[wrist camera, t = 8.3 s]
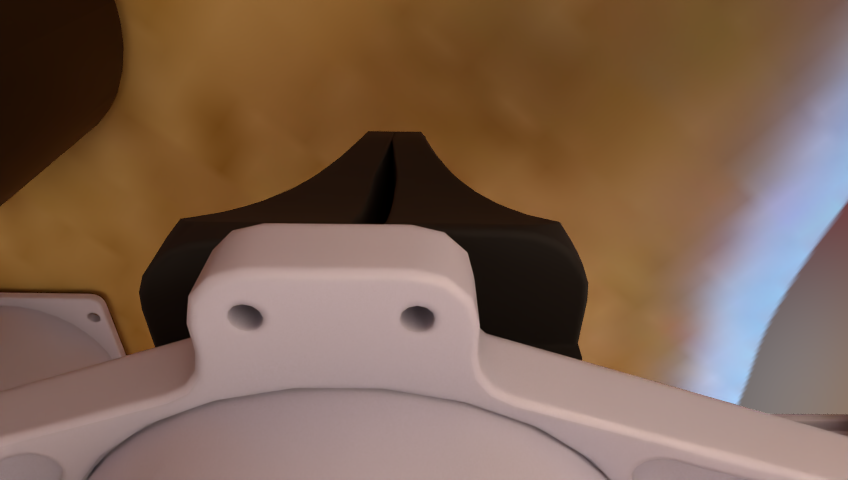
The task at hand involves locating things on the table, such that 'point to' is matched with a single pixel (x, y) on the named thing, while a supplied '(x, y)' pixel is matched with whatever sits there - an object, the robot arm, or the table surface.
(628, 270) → the table surface
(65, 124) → the mug
